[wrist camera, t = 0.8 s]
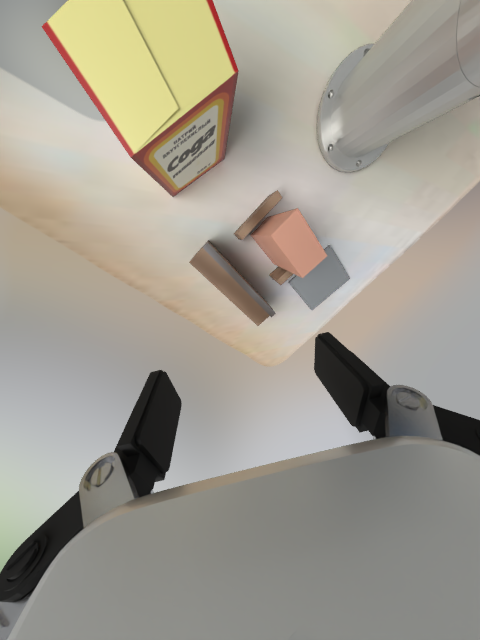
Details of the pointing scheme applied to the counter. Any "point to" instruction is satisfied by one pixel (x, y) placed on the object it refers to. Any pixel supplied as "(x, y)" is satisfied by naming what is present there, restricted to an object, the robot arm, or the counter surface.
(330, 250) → the grey mat
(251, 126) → the counter surface
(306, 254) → the salmon pink block
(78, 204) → the counter surface
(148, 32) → the baking soda box
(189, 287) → the counter surface
